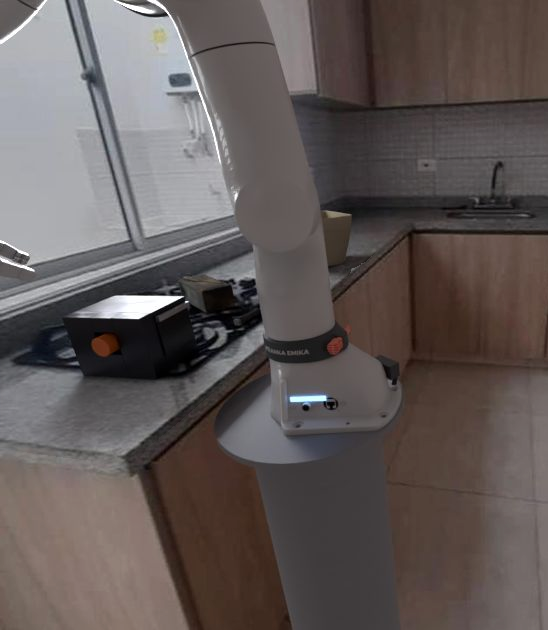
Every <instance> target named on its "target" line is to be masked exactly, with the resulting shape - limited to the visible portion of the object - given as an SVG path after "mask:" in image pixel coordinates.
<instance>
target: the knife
mask: <svg viewBox="0 0 548 630" xmlns="http://www.w3.org/2000/svg"><path fill="white" fill-rule="evenodd" d="M258 316H262V314H261V309H260V307H259V308H258V307H254V308H251V309H248V312H246V313H245V314H242V315H240V316H237V317H236V318H233V320H232V321H233V322H232V323H233V324H234V326H238V327H239V326H241V325H244V324H245V323H246V322H248V321H249V320H252V319H253V318H255V317H258Z"/></svg>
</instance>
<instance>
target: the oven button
mask: <svg viewBox="0 0 548 630" xmlns="http://www.w3.org/2000/svg"><path fill="white" fill-rule="evenodd" d="M92 348H93V350H94V351H95V352H96V353H97V354H98V355H100V356H104V357H105V356H108V355H110V354H112V353H113V352H115V351H117V350H119V349H120V347H119V344H118V341H117V338H116V335H115V333H105V334H103V335H101V336H99V337H97V338H95V339H94V340H93V341H92Z"/></svg>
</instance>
